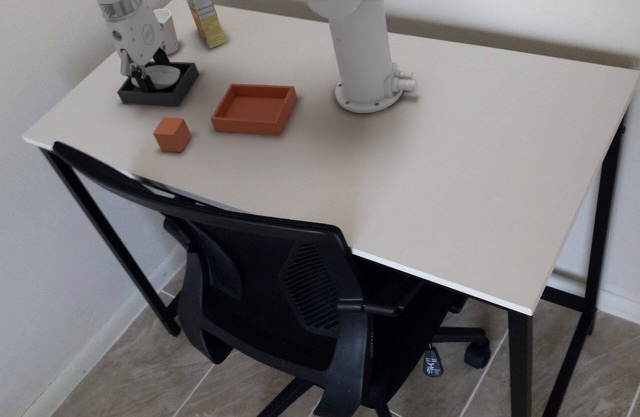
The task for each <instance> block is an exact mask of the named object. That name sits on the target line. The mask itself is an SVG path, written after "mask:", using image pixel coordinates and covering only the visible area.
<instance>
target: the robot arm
mask: <svg viewBox="0 0 640 417" xmlns="http://www.w3.org/2000/svg"><path fill="white" fill-rule="evenodd" d="M95 1H96V3H97V4H98V7H99V9H100V11H101V12H102V13H101V16H102V18H103V19H105V20H104V21H105V25H106V28H107V30H108V34H109V37H110V39H111V42H112V44H113V46H114V49H115V51H116V53H117V55H118V57H119V59H120V69H119V70H120V71H119V73H120V75H121V76H124V77H126V78H128V77H131V78H135V79H136V81H137V83H138V85H139V87H140V89H141V91H142V92H155V91H156V88H155V86H154V84H153V82H152V80H151V78H150V76H149V75H146V70H145V65H146V64H147V63H148V62H149V61H151V59H153V61H155V63H156V65H166V66H171V67H172V65H171V63H170V62H171V61H170V59H169V55H167V54H166V52H164V51H165V50H166V47H165V45H164V37H165V36H164V32H163V24H162V23H159V22H158V20H157V18H156V16H155V14H154V12H153V11H154V10H153V8H152V7H151V5H150V4H149V3H148V1H147V0H95ZM303 1H304V3H305V4H306V5H307V6H308V7H309V9H310V10H311V11H312V12H314V13H315V14H316V15H318V16H320V17H323V18H324V19H327V21H328V26H329V32H330V36H331V41H332V46H333V50H334V54H335V59H336V65H337V69H338V73H339V80H338V82H337V83H336V85H335V88H334V95H335V99H336V102H337V104H338V105H339V106H340V107H342V108H343V109H344V110H346V111H349V112H352V113H358V114H371V113H376V112H379V111H383V110H385V109H387V108H389V107H390V106H392V105H393V104H395V103H396V102H397V101H398V100H399V99H400V98H401V96H402V95H403V92H404V91H406V92H407V91H408V92H409V91H411V92H416V91H417V90H418V89H417V88H418V80H417V79H414V72H412V71H405V72H404V71H401V70H398V63H397V62H393V61H392V56H391V55H392V54H391V49H390V48H391V47H390V40H389V32H388V26H387V20H386V9H385V1H384V0H303ZM136 66H139V70H140V72H139V71H136Z"/></svg>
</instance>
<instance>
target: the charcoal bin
mask: <svg viewBox="0 0 640 417" xmlns="http://www.w3.org/2000/svg"><path fill="white" fill-rule="evenodd" d="M170 63H171V65H172V67H175V68H177V69H179V70H180V76H179V79H178V81H177V82H176V83H175V84H174V85H172V86H170V87H167V88H163V89H158V90H156V91H155V92H142V91H141V89H140V88H139V87H137V86H135V85H134V84H133V83H132V81H131V77H126V79H125V81H124V82H123V84H121V86H120V87H119V89H118V90H117V91H116V92H117V96H119V99H120V101H121V102H122V104H124V105H141V106H143V105H144V106H157V107H158V106H159V107H176V108H179V107H180V106H181V104H182V102H183V101H184V99H185V97H187V95H188V93H189V92H190V90H191V89H192V87H193V85H194V84H195V82H196V81H197V79H198V77H199V76H200V71H199V70H198V68H197V65H196V62H186V61H184V62H183V61H170ZM150 66H156V63H155V61H154V60H152V61H151V60H150V61H149V62H148V63H147V64H146V65H145V68H147V67H150ZM135 67H136V71H139V66H137V65H135Z"/></svg>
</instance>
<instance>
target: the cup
mask: <svg viewBox="0 0 640 417" xmlns="http://www.w3.org/2000/svg"><path fill="white" fill-rule="evenodd" d="M153 12H154V14H155V16H156V18H157V20H158V22H159V23H162V24H163V32H164V36H165V37H164V45H165V47H166V50H165V51H164V52H166V54H167V56H169V55H171V54H174V53H176V52H177V50H178V49H179V48H180V47H179V44H178V36H177V35H178V34H177V32H176V28H175V24H174V19H173V15H172V13H171V11H170V9H169V8H157V9H154V10H153Z"/></svg>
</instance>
